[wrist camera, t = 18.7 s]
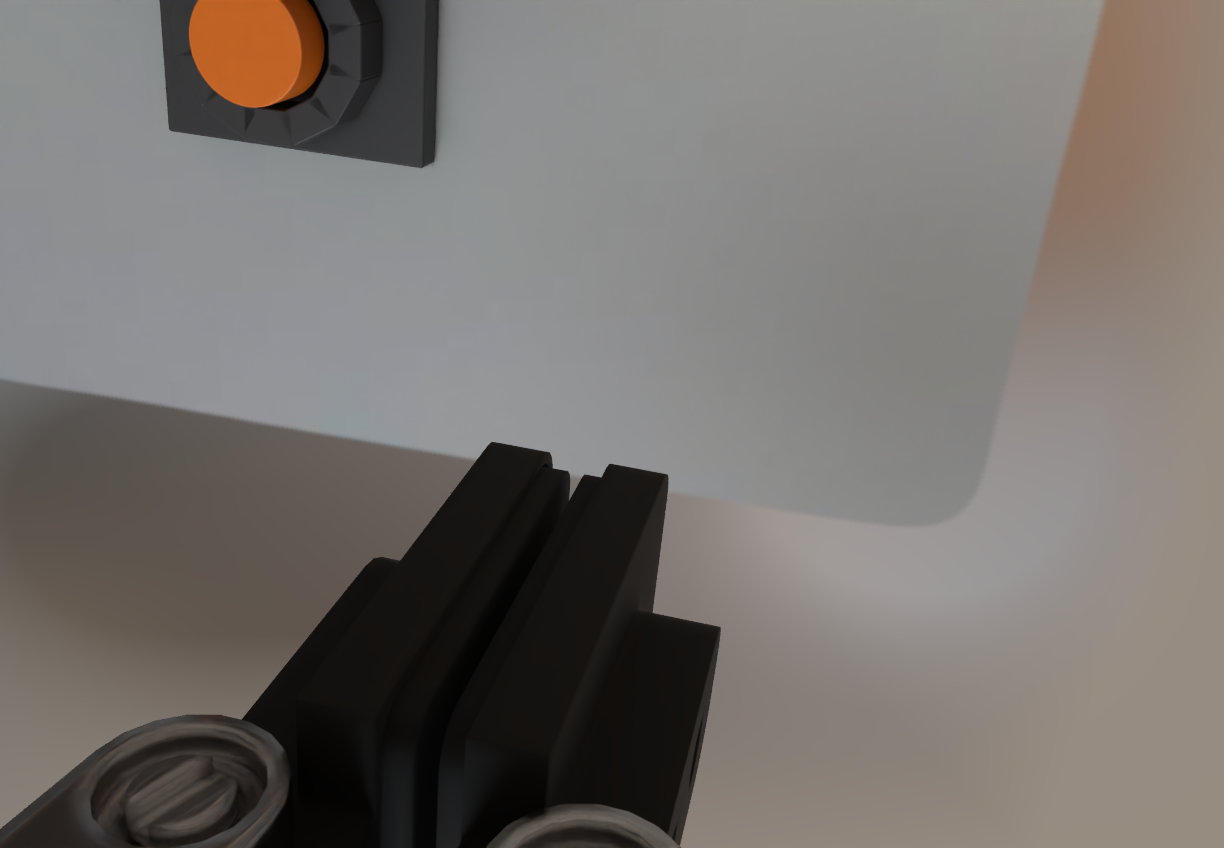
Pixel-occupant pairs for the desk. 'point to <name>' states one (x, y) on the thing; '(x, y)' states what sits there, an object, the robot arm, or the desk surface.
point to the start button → (257, 48)
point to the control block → (327, 86)
